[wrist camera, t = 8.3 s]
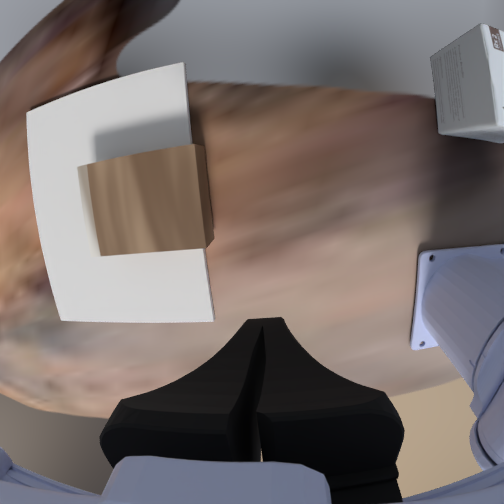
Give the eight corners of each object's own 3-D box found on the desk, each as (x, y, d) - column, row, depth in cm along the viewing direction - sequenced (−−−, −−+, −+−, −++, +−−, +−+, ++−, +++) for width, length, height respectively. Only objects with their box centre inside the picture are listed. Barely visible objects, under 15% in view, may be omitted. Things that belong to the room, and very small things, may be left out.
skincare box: (497, 143, 18) (562, 144, 11) (435, 134, 18) (497, 127, 11) (490, 70, 16) (548, 50, 9) (427, 54, 17) (480, 20, 10)
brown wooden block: (194, 143, 17) (77, 166, 18) (206, 248, 19) (91, 257, 19) (204, 146, 19) (96, 165, 20) (214, 238, 21) (108, 247, 22)
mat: (185, 64, 18) (183, 61, 18) (215, 318, 23) (213, 321, 23) (30, 113, 20) (26, 112, 19) (64, 318, 24) (61, 320, 24)
